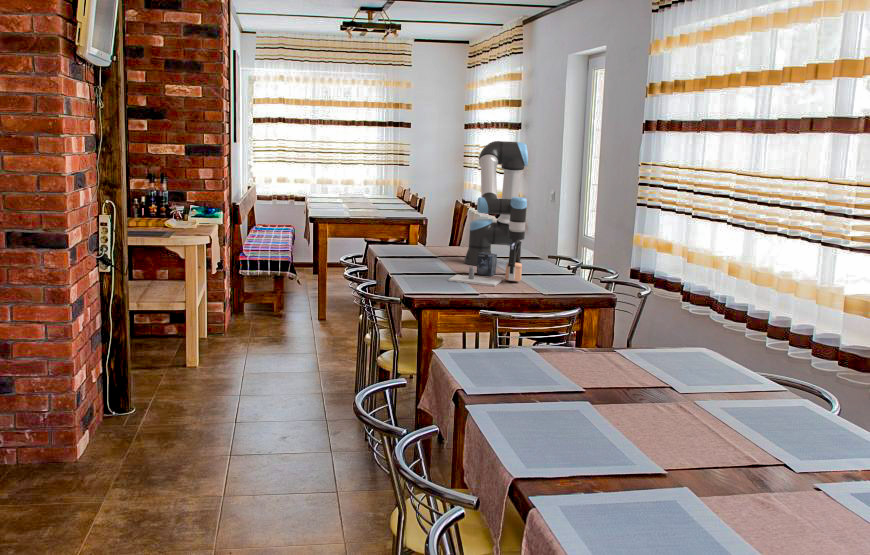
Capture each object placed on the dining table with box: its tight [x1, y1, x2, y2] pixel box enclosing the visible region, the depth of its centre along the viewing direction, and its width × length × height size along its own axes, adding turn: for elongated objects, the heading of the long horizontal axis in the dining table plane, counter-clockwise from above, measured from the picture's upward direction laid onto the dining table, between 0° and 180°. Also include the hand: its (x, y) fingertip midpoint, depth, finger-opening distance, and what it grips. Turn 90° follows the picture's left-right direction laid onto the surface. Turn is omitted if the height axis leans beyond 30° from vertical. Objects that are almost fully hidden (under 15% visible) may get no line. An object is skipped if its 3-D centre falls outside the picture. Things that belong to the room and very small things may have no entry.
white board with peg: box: [448, 266, 503, 287], centre depth 393 cm, size 13×22×6 cm, turn 72°
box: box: [476, 252, 498, 277], centre depth 411 cm, size 8×6×11 cm
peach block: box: [504, 261, 523, 282], centre depth 397 cm, size 7×7×8 cm
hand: (513, 278), depth 397 cm, fingers closed on peach block, 7 cm apart
